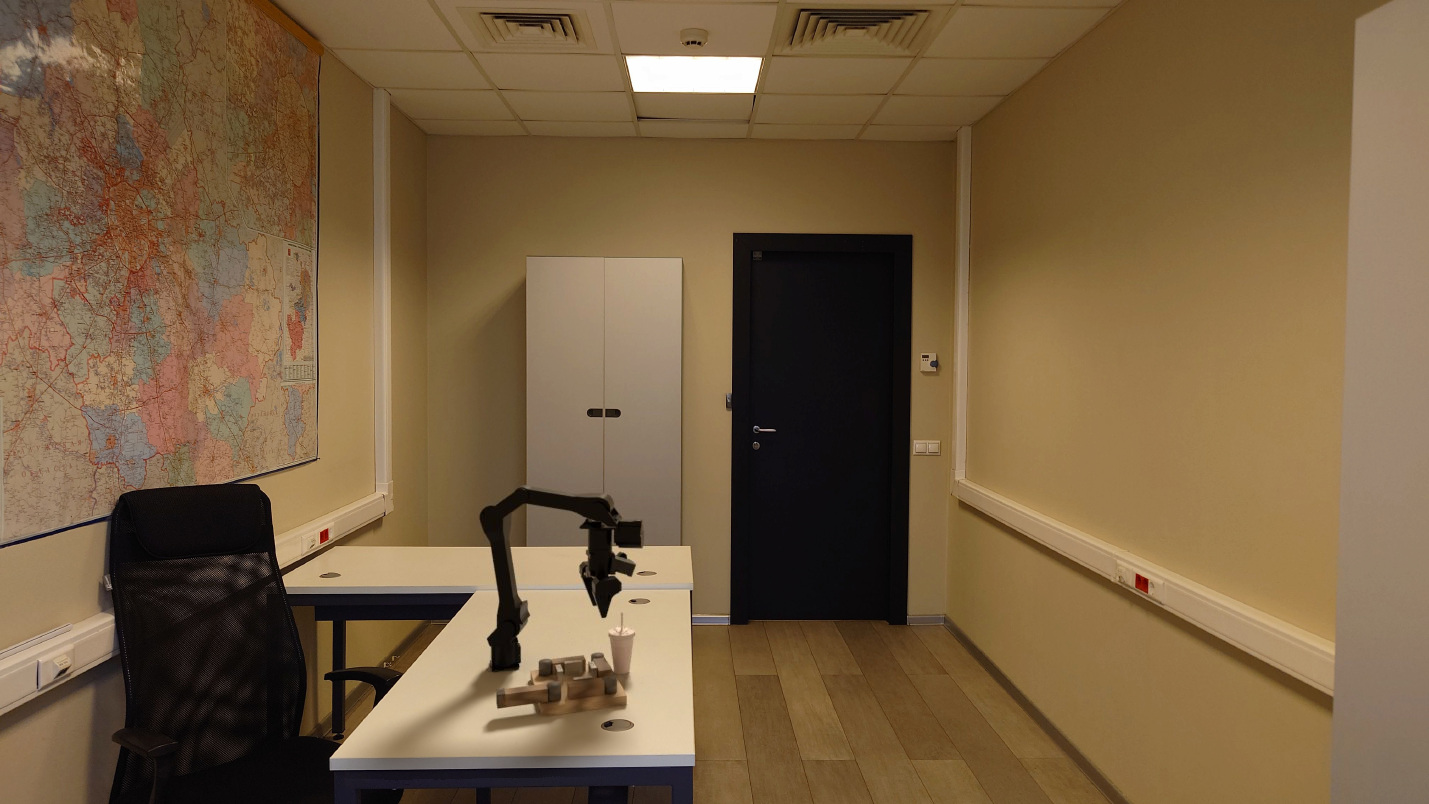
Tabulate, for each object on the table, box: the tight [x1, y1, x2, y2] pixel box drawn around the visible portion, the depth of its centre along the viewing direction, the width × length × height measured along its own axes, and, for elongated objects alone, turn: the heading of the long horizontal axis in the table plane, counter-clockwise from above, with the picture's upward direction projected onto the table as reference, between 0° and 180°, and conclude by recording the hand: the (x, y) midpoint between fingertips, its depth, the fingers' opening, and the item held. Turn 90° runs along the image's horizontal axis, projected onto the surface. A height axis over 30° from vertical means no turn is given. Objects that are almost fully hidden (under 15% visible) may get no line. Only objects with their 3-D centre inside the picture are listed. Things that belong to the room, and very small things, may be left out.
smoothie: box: [607, 611, 636, 675], centre depth 186 cm, size 6×6×14 cm
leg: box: [495, 681, 561, 710], centre depth 164 cm, size 13×3×3 cm, turn 109°
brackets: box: [555, 660, 597, 685], centre depth 175 cm, size 9×11×3 cm
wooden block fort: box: [530, 651, 628, 718], centre depth 175 cm, size 18×20×5 cm
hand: (599, 611), depth 187 cm, fingers open, 9 cm apart
